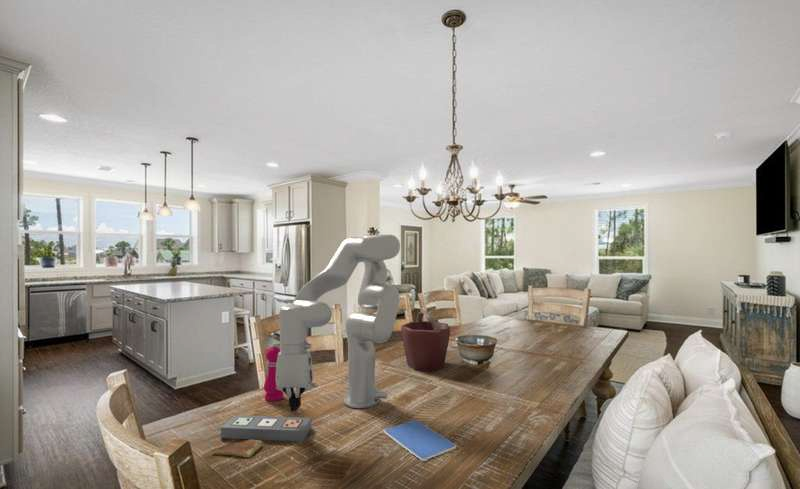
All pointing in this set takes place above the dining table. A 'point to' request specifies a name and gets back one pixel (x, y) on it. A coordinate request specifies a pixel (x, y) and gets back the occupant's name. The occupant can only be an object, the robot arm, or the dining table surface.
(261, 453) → the dining table surface
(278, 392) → the pepper mill
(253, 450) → the shard
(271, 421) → the key one pip
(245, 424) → the key two pips
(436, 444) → the tablet computer
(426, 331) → the bucket
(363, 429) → the dining table surface
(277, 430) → the key panel
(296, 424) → the key three pips
